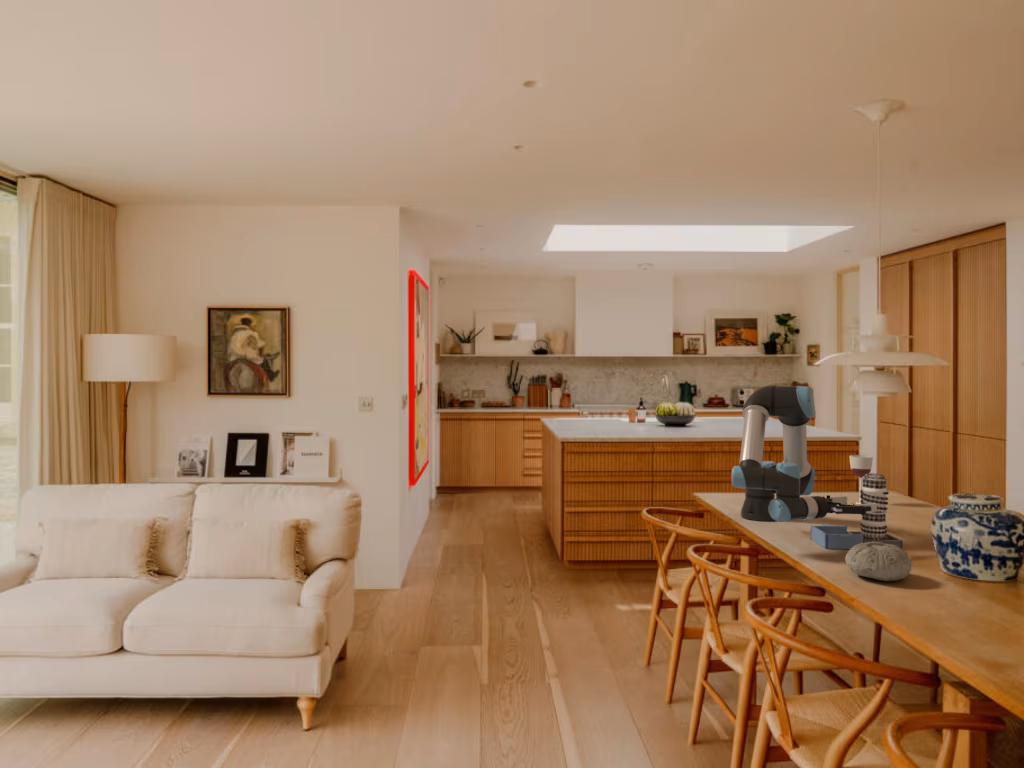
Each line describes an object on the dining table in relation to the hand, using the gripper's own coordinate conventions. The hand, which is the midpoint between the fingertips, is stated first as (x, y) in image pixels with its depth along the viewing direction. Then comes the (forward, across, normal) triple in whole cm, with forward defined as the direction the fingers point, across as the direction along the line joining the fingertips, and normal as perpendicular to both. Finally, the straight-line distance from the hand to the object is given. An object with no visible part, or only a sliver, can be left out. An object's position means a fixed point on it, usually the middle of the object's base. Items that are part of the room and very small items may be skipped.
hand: (861, 503), depth 254 cm
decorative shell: (-24, +31, -15) cm, 42 cm away
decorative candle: (+6, 0, -15) cm, 16 cm away
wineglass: (+58, -60, -15) cm, 85 cm away
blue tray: (-6, -5, -15) cm, 17 cm away
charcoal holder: (+6, 0, -15) cm, 16 cm away
